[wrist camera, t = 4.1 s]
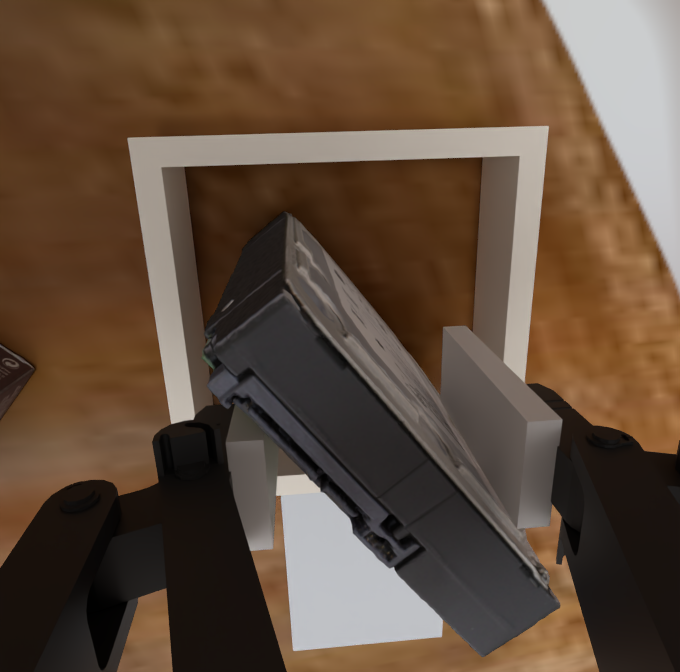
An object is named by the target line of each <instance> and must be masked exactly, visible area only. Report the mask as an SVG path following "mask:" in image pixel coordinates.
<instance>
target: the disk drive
mask: <svg viewBox="0 0 680 672" xmlns="http://www.w3.org/2000/svg"><path fill="white" fill-rule="evenodd" d="M204 335H205V338H207V339H208V341H207V343H206V345H205V347H204V348H203V350H202V358H201V359H203V360H204V361H205V362H206V363H207V364H208V365H209V366H210V367H212V368H213V370H214V371H213V373H212V374H211V375H210V378H209V382H208V384H207V388H208V389H209V390H210V391H211V392H212V393H213V394H214V395H215V396H216V397H217V398H218V399H219V402H220V403H221V404H222V405H223V406H224V407H225V408H227V409H229V408H230V406H231V405H232V402H233V403H234V404H235V405H236V406H237V407H239V408H240V409H241V410H242V411H243V412H244V413H245V414H246V415H248V416H249V417H250V418H251V419H252V420H253V421H254V423H255V424H256V425H257V426H258V427H259V428H260V429H261V430H262V431H263V432H264V433H265V434H266V435H267V436H268V437H269V438H270V439H271V440H272V441H273V442H274V443H275V444H276V445H277V446H278V447H279V448H280V449H282V450H283V451H284V453H285V454H286V455H287V456H288V457H289V458H290V459H291V460H292V461H293V462H294V463H295V464H296V465H297V466H298V467H299V468H300V469H301V470H302V471H303V472H304V473H305V474H306V475H307V476H308V478H309V480H310V481H313V482H314V483H315V484H316V485H317V486H318V487H319V488H320V492H323V493H325V494H326V495H327V496H328V497H329V498H330V499H331V500H332V501H333V502H334V503H335V504H336V505H337V506H338V507H339V509H340V510H342V511H343V512H344V513H345V514H346V515H347V516H348V517H349V518H350V521H351V524H352V531H353V534H354V535H355V536H356V537H357V538H358V539H359V540H360V541H361V542H362V543H363V544H364V545H365V546H366V547H367V548H368V549H369V550H370V551H372V552H373V553H374V555H375V556H376V558H377V559H378V560H380V561H381V562H382V563H384V564H385V566H387V567H388V568H389V569H390V568H393V567H394V569H395V571H396V573H397V574H398V576H399V577H400V578H401V579H402V580H404V581H405V583H406V584H407V585H408V586H409V587H410V588H411V589H412V590H413V591H414V592H415V593H416V594H417V595H418V596H419V597H420V598H421V599H422V600H424V601H425V602H426V603H427V604H428V605H429V606H430V607H431V608H432V609H433V610H434V611H435V612H436V613H437V614H438V615H439V616H440V617H441V618H442V619H443V620H444V621H445V622H446V623H448V624H449V625H450V626H451V628H452V629H453V630H455V632H456V633H457V634H459V635H460V636H461V637H462V638H463V639H464V640H465V641H466V642H467V643H468V644H469V645H470V647H472V648H473V649H474V650H475V651H476V652H477V653H478V654H479V655H481V656H482V657H484V656H486V655H488V654H489V653H491V652H492V651H494V650H495V649H497V648H499V647H500V646H502V645H504V644H505V643H506V642H508V641H509V640H511V639H513V638H514V637H517V636H518V635H520V634H521V633H523V632H524V631H526V630H527V629H529V628H530V627H532V626H533V625H535V624H536V623H537V622H538V621H539V620H541V619H543V618H545V617H546V616H547V615H549V614H550V613H552V612H553V611H555V610H557V609H559V608H560V602H559V601H558V599H557V597H556V596H555V595H554V594H553V592H552V591H551V589H550V588H549V586H548V584H549V577H550V576H549V574H548V571H547V570H546V569H545V568H544V566H543V565H542V564H541V563H540V562H539V559H538V557H537V555H536V554H535V552H534V551H533V550H532V548H531V546H530V544H529V543H528V541H527V538H526V533H525V528H521V529H517V528H516V526H515V524H514V523H513V521H512V519H511V518H510V516H509V515H508V513H507V511H506V510H505V508H504V506H503V505H502V503H501V501H500V500H499V498H498V496H497V495H496V493H495V491H494V490H493V488H492V486H491V485H490V483H489V481H488V480H487V478H486V476H485V475H484V473H483V471H482V470H481V468H480V466H479V465H478V463H477V461H476V460H475V458H474V456H473V455H472V453H471V451H470V450H469V448H468V446H467V445H466V443H465V441H464V440H463V438H462V436H461V435H460V433H459V431H458V430H457V428H456V426H455V425H454V423H453V421H452V420H451V418H450V416H449V415H448V413H447V411H446V410H445V408H444V407H443V405H442V403H441V402H440V399H441V396H440V394H439V393H438V392H437V390H436V389H435V388H434V386H433V385H432V383H431V382H430V381H429V379H428V378H427V376H426V374H425V373H424V372H423V370H422V369H421V368H420V366H419V365H418V364H417V362H416V361H415V360H414V358H413V357H412V356H411V355H410V354H409V353H408V352H407V351H406V349H405V348H404V347H403V345H402V344H401V343H400V341H399V340H398V338H397V337H396V335H395V334H394V333H393V331H392V330H391V329H390V328H389V327H388V325H387V324H386V323H385V322H384V321H383V319H382V318H381V317H380V316H379V314H378V313H377V312H376V311H375V309H374V308H373V307H372V306H371V305H370V303H369V302H368V301H367V300H366V299H365V297H364V296H363V295H362V294H361V292H360V291H359V290H358V289H357V288H356V286H355V285H354V284H353V283H352V282H351V280H350V279H349V278H348V277H347V275H346V274H345V273H344V272H343V271H342V269H341V268H340V267H339V266H338V265H337V264H336V262H335V261H334V260H333V259H332V258H331V256H330V255H329V254H328V253H327V252H326V251H325V249H324V248H323V247H322V246H321V245H320V244H319V242H318V241H317V240H316V239H315V238H314V237H313V236H312V234H311V233H310V232H309V231H308V230H307V229H306V228H305V227H304V226H303V225H302V223H301V222H299V221H298V220H297V219H296V218H295V217H292V214H290V213H287V212H285V211H284V212H282V213H281V214H280V215H279V216H278V217H277V218H275V219H274V220H273V221H272V222H270V223H269V224H268V225H267V226H266V227H265V228H264V229H262V230H261V231H260V232H259V233H257V234H256V235H255V236H254V237H253V238H251V240H249V241H248V242H247V244H246V245H245V246H244V247H243V249H242V254H241V256H240V258H239V261H238V263H237V265H236V268H235V269H234V272H233V273H232V275H231V277H230V280H229V282H228V284H227V286H226V288H225V290H224V293H223V294H222V298H221V299H220V302H219V304H218V307H217V308H216V310H215V313H214V314H213V315H212V316H211V317H210V320H209V321H208V322H207V326H206V328H205V332H204Z"/></svg>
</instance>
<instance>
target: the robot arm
mask: <svg viewBox="0 0 680 672" xmlns="http://www.w3.org/2000/svg"><path fill="white" fill-rule="evenodd" d="M440 402H441V403H442V405H443V407H444V408H445V410H446V411H447V413H448V415H449V416H450V418H451V420H452V421H453V423H454V425H455V426H456V428H457V430H458V431H459V433H460V435H461V436H462V438H463V440H464V441H465V443H466V445H467V446H468V448H469V450H470V451H471V453H472V455H473V456H474V458H475V460H476V461H477V463H478V465H479V466H480V468H481V470H482V471H483V473H484V475H485V476H486V478H487V480H488V481H489V483H490V485H491V486H492V488H493V490H494V491H495V493H496V495H497V496H498V498H499V500H500V501H501V503H502V505H503V506H504V508H505V510H506V511H507V513H508V515H509V516H510V518H511V519H512V521H513V523H514V524H515V526H516V528H517V529H521V528H533V527H545V526H549V525H550V517H551V509H552V504H553V505H554V507H555V508H556V509H557V511H558V512H559V513H560V515H561V516H562V519H561V527H560V534H559V542H558V549H557V557H556V564H561V565H562V558H563V556H564V555H566V558H567V562H568V565H569V569H570V572H571V576H572V579H573V582H574V586H575V589H576V593H577V596H578V600H579V603H580V607H581V610H582V613H583V617H584V620H585V624H586V627H587V631H588V634H589V637H590V641H591V644H592V648H593V651H594V655H595V658H596V662H597V665H598V668H599V672H680V441H679V445H678V450H677V455H676V454H667V453H657V452H648V451H644V450H643V449H642V447H641V446H640V444H639V443H638V442H637V441H636V440H635V439H634V438H633V437H632V436H630V435H628V434H626V433H624V432H622V431H619V430H616V429H613V428H610V427H603V426H593V425H592V424H590V423H589V422H588V421H587V420H586V419H585V418H584V417H583V416H581V415H580V414H579V413H578V412H577V411H576V410H575V409H572V407H571V406H570V405H569V404H568V403H567V402H566V401H564V400H563V399H562V398H561V397H560V396H559V395H558V394H557V393H556V392H555V391H553V390H551V389H549V388H547V387H545V386H542V385H540V384H538V383H535V384H525V383H524V382H523V381H522V380H521V379H520V378H519V377H518V376H517V375H516V374H515V373H514V372H513V371H512V370H511V369H510V368H509V367H508V366H507V365H506V364H505V363H504V362H503V361H502V360H501V359H500V358H499V357H497V356H496V355H495V354H494V353H493V352H492V351H491V350H490V349H489V348H488V347H487V346H486V345H485V344H484V343H483V342H482V341H481V340H480V339H479V338H478V337H477V336H476V335H475V334H474V333H473V332H472V331H471V330H470V329H469V328H468V327H467V326H449V327H443V344H442V372H441V399H440ZM152 444H153V449H154V455H155V461H156V467H157V473H158V480H159V483H157V484H155V485H153V486H151V487H148V488H145V489H142V490H139V491H136V492H132V493H128V494H124V495H120V496H118V491H117V488H116V487H115V486H114V484H113V483H111V482H108V481H105V480H88V481H81V482H77V483H74V484H73V485H72V484H71V485H69V486H66V487H64V488H63V489H61V490H59V491H58V492H56V493H55V494H53V495H51V497H50V498H49V499H48V500H47V501H46V502H45V503H44V504H43V505H42V507H41V508H40V510H39V511H38V513H37V514H36V516H35V517H34V519H33V520H32V522H31V523H30V525H29V526H28V528H27V529H26V531H25V532H24V534H23V535H22V537H21V538H20V540H19V541H18V542H17V544H16V545H15V547H14V548H13V550H12V551H11V553H10V554H9V556H8V557H7V559H6V560H5V562H4V563H3V565H2V566H1V568H0V672H117V669H118V665H119V662H120V659H121V656H122V652H123V649H124V646H125V643H126V639H127V636H128V633H129V630H130V626H131V623H132V620H133V617H134V613H135V610H136V607H137V604H138V597H141V596H144V595H147V594H150V593H153V592H156V591H159V590H162V589H165V588H167V600H168V614H169V627H170V640H171V654H172V667H173V672H287V671H286V668H285V665H284V661H283V658H282V655H281V651H280V648H279V645H278V641H277V638H276V635H275V631H274V628H273V625H272V621H271V618H270V615H269V611H268V608H267V605H266V601H265V598H264V595H263V591H262V588H261V585H260V581H259V578H258V575H257V571H256V568H255V565H254V561H253V558H252V555H251V551H254V550H266V549H273V542H274V524H275V507H276V489H277V472H278V455H279V447H278V446H277V445H276V444H275V443H274V442H273V441H272V440H271V439H270V438H269V437H268V436H267V435H266V434H265V433H264V432H263V431H262V430H261V429H260V428H259V427H258V426H257V425H256V424H255V423H254V421H253V420H252V419H251V418H250V417H249V416H248V415H246V414H245V413H244V412H243V411H242V410H241V409H240V408H239V407H237V406H236V405H235V404H232V405H231V406H230V408H229V409H227V408H225V407H224V406H223V405H208V406H205V407H204V408H203V409H202V410H201V411H199V412H198V413H197V414H196V415H195V417H194V419H193V420H186V421H181V422H178V423H174V424H171V425H169V426H167V427H165V428H163V429H161V430H160V431H159V432H158V433H157V434H156V435H155V436H154V438H153V441H152Z"/></svg>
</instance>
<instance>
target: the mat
mask: <svg viewBox="0 0 680 672" xmlns="http://www.w3.org/2000/svg"><path fill="white" fill-rule="evenodd" d="M281 504H282V516H283V529H284V541H285V554H286V567H287V579H288V592H289V604H290V617H291V629H292V642H293V651H299V650H309V649H320V648H330V647H340V646H351V645H361V644H372V643H382V642H392V641H403V640H413V639H423V638H434V637H442V623H443V619H442V618H441V617H440V616H439V615H438V614H437V613H436V612H435V611H434V610H433V609H432V608H431V607H430V606H429V605H428V604H427V603H426V602H425V601H424V600H422V599H421V598H420V597H419V596H418V595H417V594H416V593H415V592H414V591H413V590H412V589H411V588H410V587H409V586H408V585H407V584H406V583H405V581H404V580H402V579H401V578H400V577H399V576H398V574H397V573H396V571H395V569H394V567H393V568H390V569H389V568H388V567H387V566H385V564H384V563H382V562H381V561H380V560H378V559H377V558H376V556H375V555H374V553H373V552H372V551H370V550H369V549H368V548H367V547H366V546H365V545H364V544H363V543H362V542H361V541H360V540H359V539H358V538H357V537H356V536H355V535H354V534H353V531H352V524H351V521H350V518H349V517H348V516H347V515H346V514H345V513H344V512H343V511H342V510H340V509H339V507H338V506H337V505H336V504H335V503H334V502H333V501H332V500H331V499H330V498H329V497H328V496H327V495H326V494H325V493H323V492H320V493H307V494H294V495H281Z"/></svg>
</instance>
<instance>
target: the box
mask: <svg viewBox="0 0 680 672" xmlns="http://www.w3.org/2000/svg"><path fill="white" fill-rule="evenodd" d="M33 372H34V367H33V366H31V365H30V364H29V363H28V362H27V361H25V359H24V358H22V357H21V356H19V355H17V354H14V353H13V352H12V351H10V350H8V349H7V348H5V347H4V346H3V345H1V344H0V419H1V418H2V417H3V415H4V414H5V412H6V411H7V409H8V408H9V407H10V405H11V404H12V402H13V401H14V400H15V398H16V397H17V395H18V394H19V392H20V391H21V389H22V388H23V387H24V385H25V384H26V382H27V381H28V379H29V378H30V376H31V375H32V373H33Z"/></svg>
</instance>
